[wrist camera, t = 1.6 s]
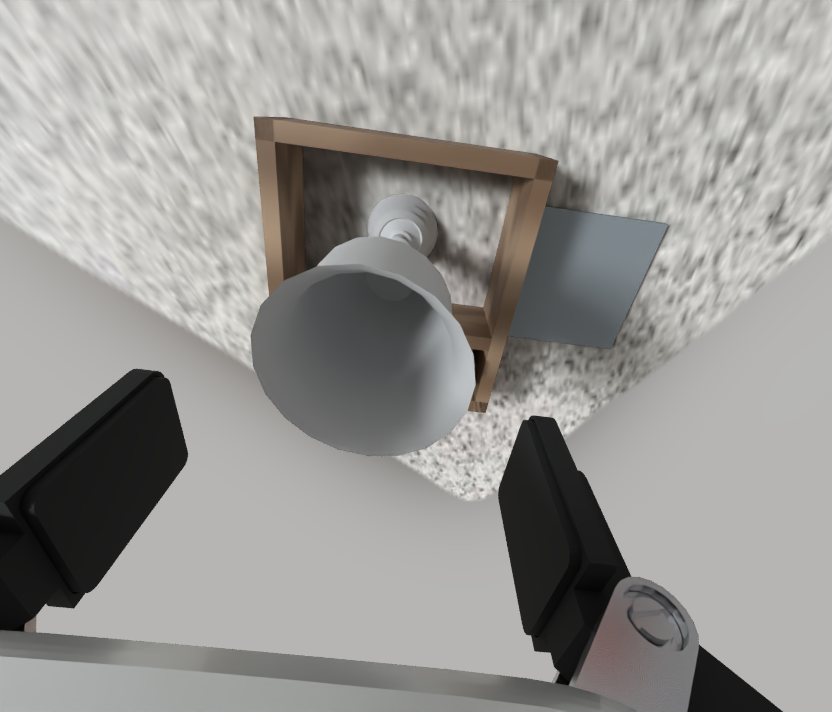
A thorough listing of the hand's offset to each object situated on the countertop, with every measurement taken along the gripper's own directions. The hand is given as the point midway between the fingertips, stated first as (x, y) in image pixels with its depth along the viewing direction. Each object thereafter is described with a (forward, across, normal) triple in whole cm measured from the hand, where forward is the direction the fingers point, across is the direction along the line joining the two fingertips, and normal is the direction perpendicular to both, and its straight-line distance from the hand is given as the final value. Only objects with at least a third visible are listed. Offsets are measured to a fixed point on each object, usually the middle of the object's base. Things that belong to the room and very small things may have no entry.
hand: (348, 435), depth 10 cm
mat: (+20, -14, +1) cm, 24 cm away
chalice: (+20, 0, -1) cm, 20 cm away
